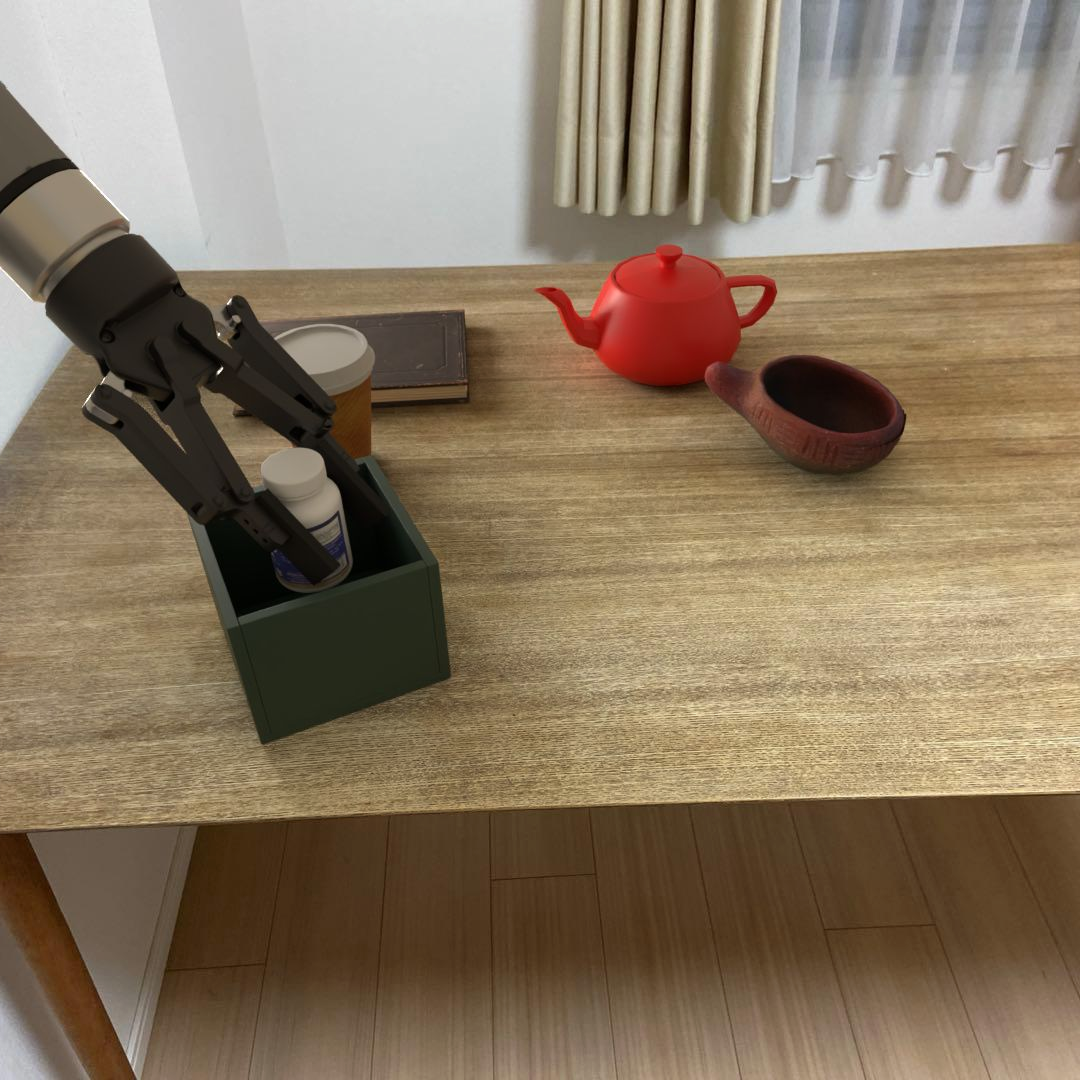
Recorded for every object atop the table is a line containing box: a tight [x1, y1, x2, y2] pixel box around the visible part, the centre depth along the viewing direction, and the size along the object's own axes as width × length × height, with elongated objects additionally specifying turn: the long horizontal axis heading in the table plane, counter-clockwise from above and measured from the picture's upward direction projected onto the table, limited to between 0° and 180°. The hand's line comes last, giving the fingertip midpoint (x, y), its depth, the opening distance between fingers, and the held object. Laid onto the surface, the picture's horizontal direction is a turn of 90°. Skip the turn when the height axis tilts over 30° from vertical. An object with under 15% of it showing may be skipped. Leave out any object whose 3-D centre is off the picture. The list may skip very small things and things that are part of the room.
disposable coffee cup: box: [274, 324, 375, 460], centre depth 89 cm, size 10×10×12 cm
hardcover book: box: [232, 308, 470, 416], centre depth 105 cm, size 16×23×2 cm
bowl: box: [704, 354, 907, 476], centre depth 89 cm, size 16×13×8 cm
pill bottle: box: [260, 447, 353, 593], centre depth 67 cm, size 5×5×9 cm
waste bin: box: [186, 454, 452, 745], centre depth 71 cm, size 14×14×11 cm
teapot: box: [533, 243, 778, 387], centre depth 102 cm, size 25×16×12 cm, turn 101°
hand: (353, 546), depth 67 cm, fingers closed on pill bottle, 5 cm apart
